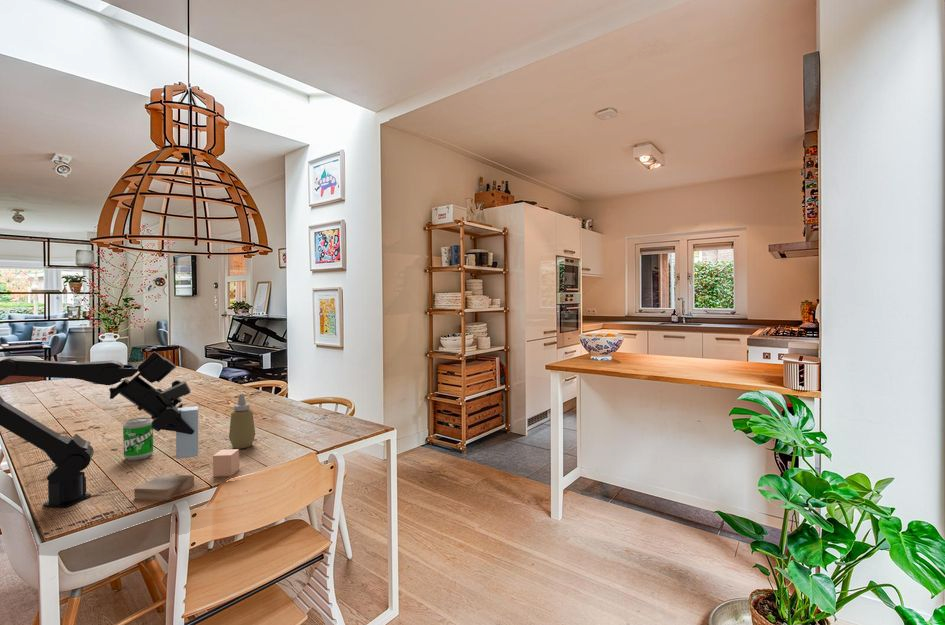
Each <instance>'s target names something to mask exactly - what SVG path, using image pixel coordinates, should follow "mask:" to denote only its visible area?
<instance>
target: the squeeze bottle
mask: <svg viewBox="0 0 945 625" xmlns="http://www.w3.org/2000/svg"><path fill="white" fill-rule="evenodd" d="M237 401H238V402H237V404H234V406H233V409H234V411H232V412H231V413H230V424H229V432H228V433H229V434H228V438H229V441H230V443H231V446H232V448H233V449H239V450H240V449H246V448H249V447H251V446H253V442H254V441H255V437H256V428H255V421H254V413H253V410H252V409H251V408H250V403H247V402H246V399H245V394H244V393H240V394H239V396H238V400H237Z"/></svg>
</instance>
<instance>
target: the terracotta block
mask: <svg viewBox="0 0 945 625" xmlns="http://www.w3.org/2000/svg"><path fill="white" fill-rule="evenodd" d="M239 470H240V449H236V448H233V449H231V448H230V449H220V450H218V451H217V452H215V454H213V455H212V477H231V476H233V475H234V474H235V473H236V472H237V471H239Z"/></svg>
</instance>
